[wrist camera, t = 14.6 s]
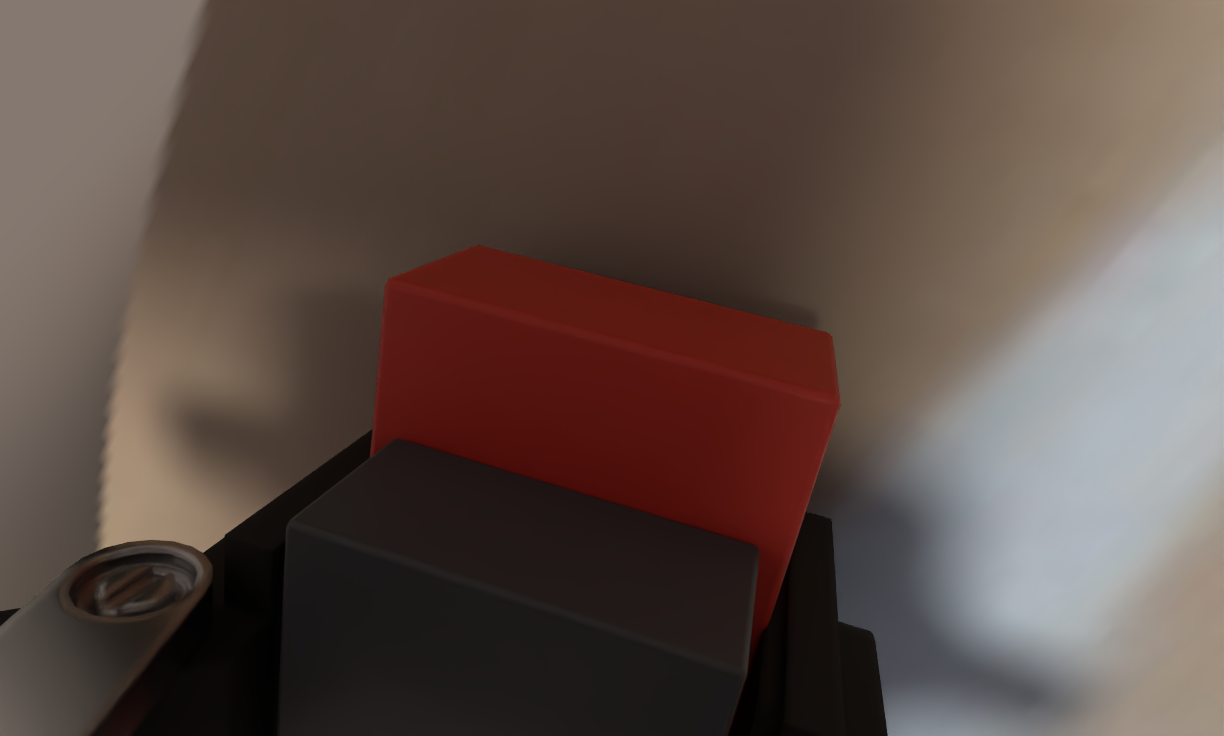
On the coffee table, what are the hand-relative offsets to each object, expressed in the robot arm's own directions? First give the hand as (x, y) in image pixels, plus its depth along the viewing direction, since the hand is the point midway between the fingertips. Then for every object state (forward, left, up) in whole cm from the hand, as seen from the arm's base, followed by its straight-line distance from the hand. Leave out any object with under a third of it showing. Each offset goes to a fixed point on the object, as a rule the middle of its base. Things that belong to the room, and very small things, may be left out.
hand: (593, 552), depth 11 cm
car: (0, 0, 0) cm, 0 cm away
